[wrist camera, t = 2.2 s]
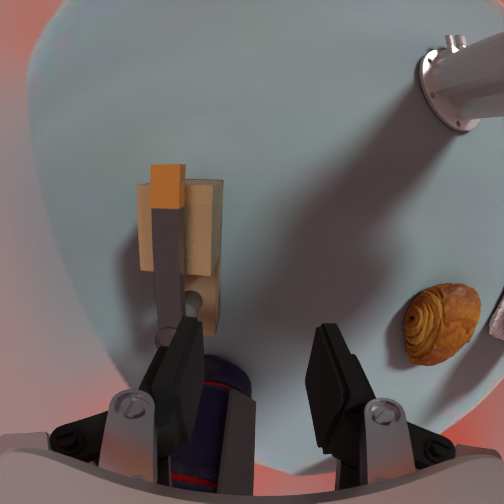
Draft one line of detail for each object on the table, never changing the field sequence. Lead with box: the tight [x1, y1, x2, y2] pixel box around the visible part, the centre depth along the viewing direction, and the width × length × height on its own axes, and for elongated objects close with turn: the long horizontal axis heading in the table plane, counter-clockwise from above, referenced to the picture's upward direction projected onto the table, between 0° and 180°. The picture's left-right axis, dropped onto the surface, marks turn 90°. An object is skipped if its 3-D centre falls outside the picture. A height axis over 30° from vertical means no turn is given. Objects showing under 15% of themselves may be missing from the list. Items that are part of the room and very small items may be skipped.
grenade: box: [170, 355, 256, 496], centre depth 24 cm, size 14×12×30 cm
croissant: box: [403, 283, 481, 366], centre depth 32 cm, size 14×16×8 cm
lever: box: [150, 164, 186, 348], centre depth 20 cm, size 16×3×2 cm, turn 177°
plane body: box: [184, 179, 223, 336], centre depth 27 cm, size 17×5×11 cm, turn 177°
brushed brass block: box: [137, 181, 223, 276], centre depth 23 cm, size 7×6×6 cm
